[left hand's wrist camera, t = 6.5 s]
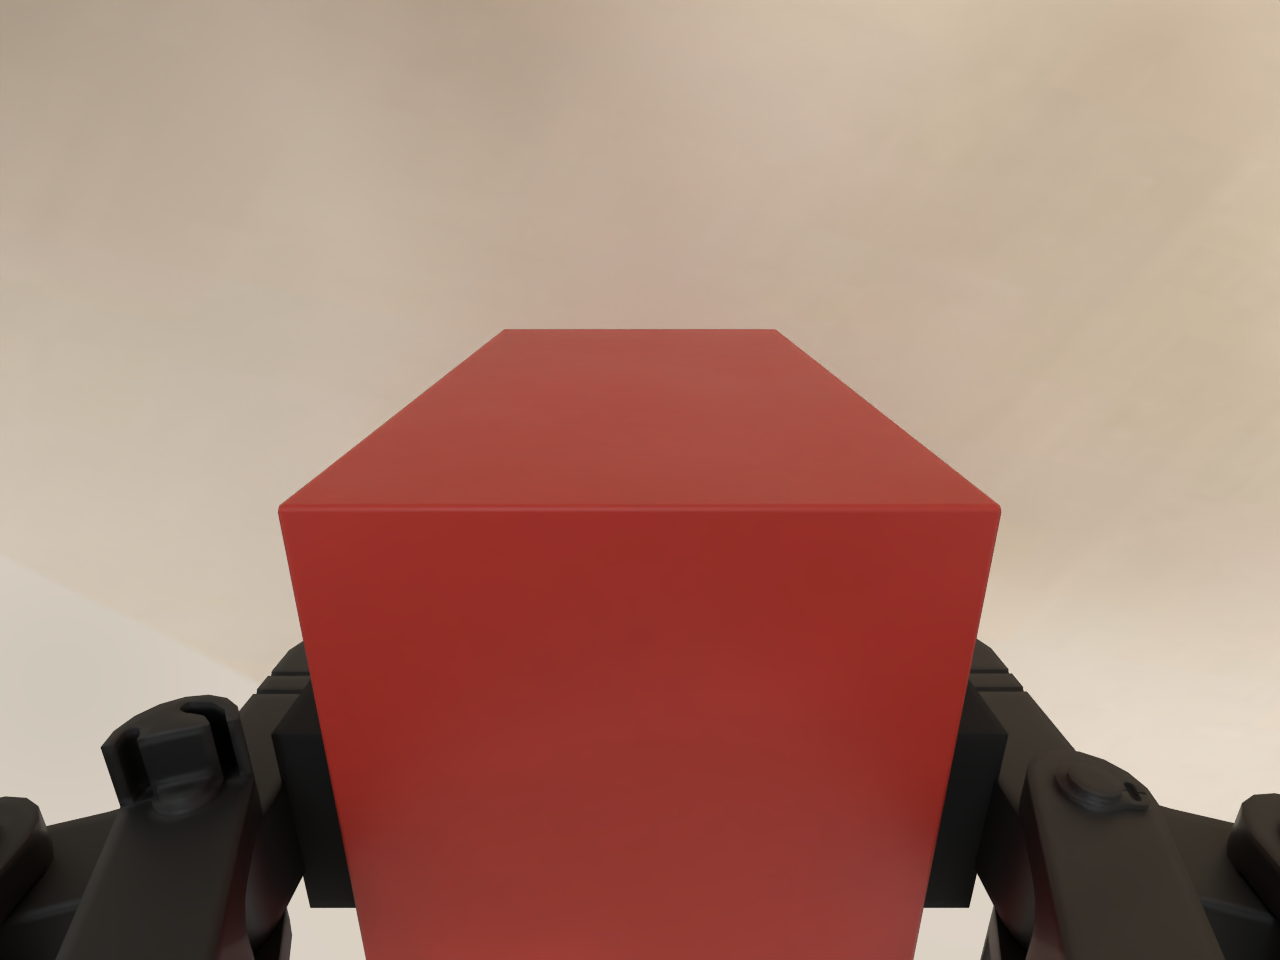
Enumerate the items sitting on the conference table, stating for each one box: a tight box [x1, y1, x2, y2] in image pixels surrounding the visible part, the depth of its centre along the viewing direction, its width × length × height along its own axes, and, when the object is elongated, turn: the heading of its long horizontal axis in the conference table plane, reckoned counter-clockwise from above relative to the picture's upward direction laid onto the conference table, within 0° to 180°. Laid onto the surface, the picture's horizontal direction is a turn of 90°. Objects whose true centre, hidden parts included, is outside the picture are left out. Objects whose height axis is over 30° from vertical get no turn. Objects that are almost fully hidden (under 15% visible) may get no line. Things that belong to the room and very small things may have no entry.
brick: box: [278, 329, 1001, 960], centre depth 13 cm, size 7×9×12 cm
